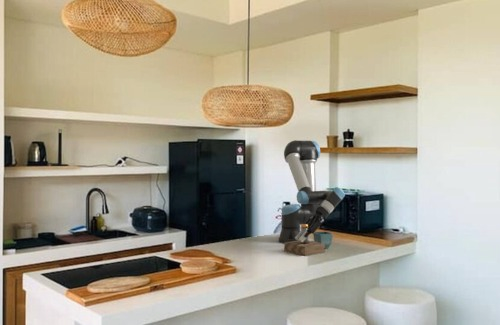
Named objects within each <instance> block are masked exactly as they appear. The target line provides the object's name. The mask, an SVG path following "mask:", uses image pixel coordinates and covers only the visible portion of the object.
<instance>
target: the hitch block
mask: <svg viewBox="0 0 500 325" xmlns="http://www.w3.org/2000/svg"><path fill="white" fill-rule="evenodd" d="M283 244H284V248H283V251H284V252H285V253H289V254H295V255H299V256H303V257H308V256H313V255H319V254H323V253H325V250H326V248H325V244H324V243H318V242H314V240H313V241H312V240H308V244H301V241H300V240H299V241H292V242H285V243H283Z"/></svg>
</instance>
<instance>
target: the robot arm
mask: <svg viewBox="0 0 500 325" xmlns="http://www.w3.org/2000/svg"><path fill="white" fill-rule="evenodd" d="M286 144H287V145H286V146H285V148H284V151H283V157H284V158H283V159H284V161H285V162H286V163H287V164H288V167H289V170H290V172H291V176H292V177H293V180H294V183H295V185H296V188H297V191H298V192H297V193H296V201H297V202H298V203H292V204H291V203H290V204H286V205H283V206H282V207H281V230H280V233H279V236H278V242H279V243H282V244H284V243H285V242H292V241H299V240H300V241H301V242H302V243H303V241H304V240H305V239H306V238H307V237H308V238H309V236H310V235H311V234H313V233H314V232H317V230H318V229H319V227H321V225H322V224H324V223H325V220H326V219H327V218H328V217H329V216H330V214H331V213H332V212H333V211H334V210H335V209H336V207H337V206H338V205H339V204H340V203H341V202H342V201H343V200H344V198H345V196H346V194H345V192H344V190H343V189H342V188H341V187H338V186H335V187H334V188H333V189H332V190H317V185H316V184H317V182H316V163H317V162H318V159H319V158H320V156H321V148H320V145H319V143H318V142H317V141H315V140H292V141H289V142H288V143H286ZM301 224H308V229H307V231H308V232H307V231H305V233H304V234H303V235H302V236H301Z"/></svg>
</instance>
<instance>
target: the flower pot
mask: <svg viewBox="0 0 500 325" xmlns="http://www.w3.org/2000/svg"><path fill="white" fill-rule="evenodd" d="M333 236H334V233H332V232H328V231H315V232H314V233H313V242H318V243H324V244H325V249H329V248H330V247H331V245H332V242H333Z"/></svg>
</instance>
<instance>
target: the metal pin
mask: <svg viewBox="0 0 500 325" xmlns="http://www.w3.org/2000/svg"><path fill="white" fill-rule="evenodd" d="M307 229H308V224H301V225H300V231H301V236H302V235H303V234H304V233H305V231H307ZM307 232H308V231H307ZM308 241H309V236H308V237H307V238H306V239H305V240H304V241H303V243H302V242H301V244H308Z"/></svg>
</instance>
